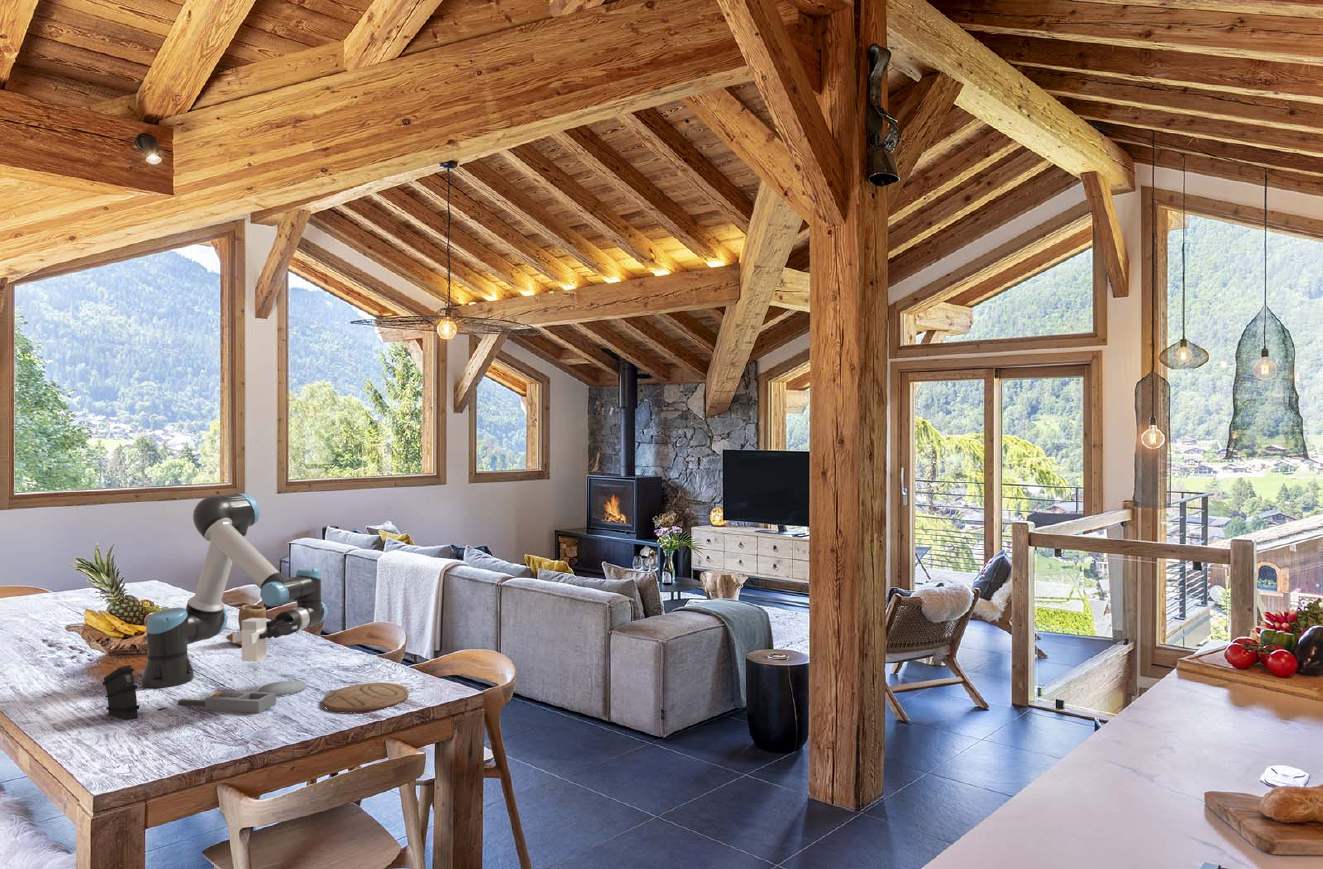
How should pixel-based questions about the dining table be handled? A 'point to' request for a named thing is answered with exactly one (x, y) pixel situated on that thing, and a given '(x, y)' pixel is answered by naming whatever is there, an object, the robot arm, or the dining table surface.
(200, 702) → the power strip
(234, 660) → the dining table surface
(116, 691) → the magazine
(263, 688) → the mat
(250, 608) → the brown boot
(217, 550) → the robot arm
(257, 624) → the block
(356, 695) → the trivet
